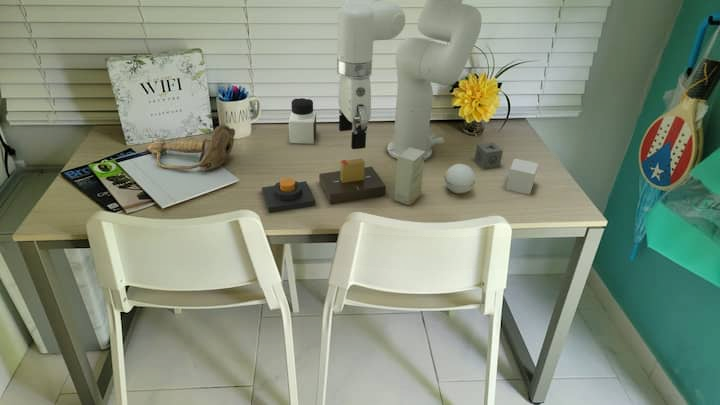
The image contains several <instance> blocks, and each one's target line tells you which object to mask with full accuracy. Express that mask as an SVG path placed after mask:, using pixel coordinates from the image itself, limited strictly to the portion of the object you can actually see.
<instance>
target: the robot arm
mask: <svg viewBox="0 0 720 405" xmlns="http://www.w3.org/2000/svg"><path fill="white" fill-rule="evenodd" d="M463 2H464V0H425V3H424V5H423V7H422V9H421V12H420V14H419V16H418V20H417V29H418V31H419V33H420V34H421V35H423V36H424V37H426V38H430V39H433V40H430V39H425V38H421V37H408V38H406V39H404V40H402V41H401V42H400V43H399V45H398V46H397V49H396V52H395V67H396V75H397V76H396V78H397V88H396V102H395V114H394V115H395V116H394V129H393V140H392V141H390V142H389V143H388V144H387V148H386V149H387V150H386V151H387V153H388V154H389V156H391V157H392V158H394V159H396V160H397V158H398V156H399V155H400V154H401V153H402V152H403V151H405V150H406V149H407V148H408V147H412V148H416V149H419V150H422V151H425V157H424V161H426V160H428V159H429V158H431V156H432V154H433V148H432V147H434V146H435V145H436V146H439V145H444V138H443V137H436V135H435V134H433V135H429V134H430V133H429V132H430V125H431V115H432V106H433V100H434V99H433V98H434V90H433V87H432V83H435V84H438V85H442V86H452V85H454V84H456V83H457V81H458V80H459V79H460V77H461V76H462V74H463V72H464V69H465V67H466V65H467V63H468V61H469V58H470V56H471V54H472V52H473V49H474V47H475V45H476V43H477V41H478V38H479V35H480V32H481V28H482V14H481V11H480V10H479V9H478V8H477V7H476V6H474V5H471V4H467V3H463ZM405 25H406V13H405V11H404V10H403V8H402V7H400V6H399V5H398V4H396V3H394V2H389V1H384V0H345V1H344V3H343V6H342V7H340V9H339V10H338V14H337V40H336V41H337V42H336V43H337V44H336V46H337V50H336V51H337V52H336V57H337V58H336V74H337V75H338V76H339V82H338V108H339V110H338V114H339V115H338V131H339V132H348V131H352V132H351V142H350V143H351V144H350V147H351V150H360V149H366V147H367V146H366V144H367V132H368V124H369V121H371V117H372V113H371V112H372V88H371V78H370V77H371V76H372V74H373V73H372V71H373V70H372V69H373V54H374V53H373V52H374V42H375V41H388V40H392V39H395V38H397V37H398V36H399V35H401V33H402V31H403V30H404V28H405ZM434 40H436V41H434ZM437 41H441V42H437ZM442 42H446V43H448V44H446V43H442Z"/></svg>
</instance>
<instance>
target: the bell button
mask: <svg viewBox="0 0 720 405" xmlns="http://www.w3.org/2000/svg"><path fill="white" fill-rule="evenodd" d="M295 181H296V180H295V179H293V178H290V177H289V178H288V177H286V178H282V179H281V180H279V182H280V190H281V191H283V192H292V191H294V190H295Z"/></svg>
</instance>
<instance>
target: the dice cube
mask: <svg viewBox="0 0 720 405" xmlns="http://www.w3.org/2000/svg"><path fill="white" fill-rule="evenodd" d="M502 156H503V149H502V148H501V147H500V146H499V145H497V144H496V143H495V142H493V141H492V142H484V143H477V144H476V149H475V155H474V162H475V163H476V164H477V165H478V166H479V167H480V168H481V169H482V170H486V169H494V168H500V166H501V161H502Z"/></svg>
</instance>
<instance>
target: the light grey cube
mask: <svg viewBox="0 0 720 405" xmlns="http://www.w3.org/2000/svg"><path fill="white" fill-rule="evenodd" d="M538 167H539V163H537V162H533V161H528V160H523V159H519V158H513V161H512V164H511V166H510V168H509V173H508V177H507V182H506V187H505V190H507V191H512V192H516V193H520V194H524V195H528V196H530V195H531V192H532V190H533V187H534V183H535V178H536V175H537V171H538Z"/></svg>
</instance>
